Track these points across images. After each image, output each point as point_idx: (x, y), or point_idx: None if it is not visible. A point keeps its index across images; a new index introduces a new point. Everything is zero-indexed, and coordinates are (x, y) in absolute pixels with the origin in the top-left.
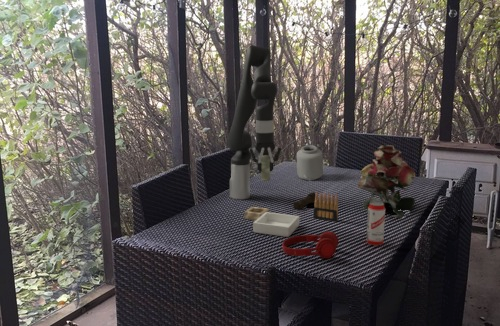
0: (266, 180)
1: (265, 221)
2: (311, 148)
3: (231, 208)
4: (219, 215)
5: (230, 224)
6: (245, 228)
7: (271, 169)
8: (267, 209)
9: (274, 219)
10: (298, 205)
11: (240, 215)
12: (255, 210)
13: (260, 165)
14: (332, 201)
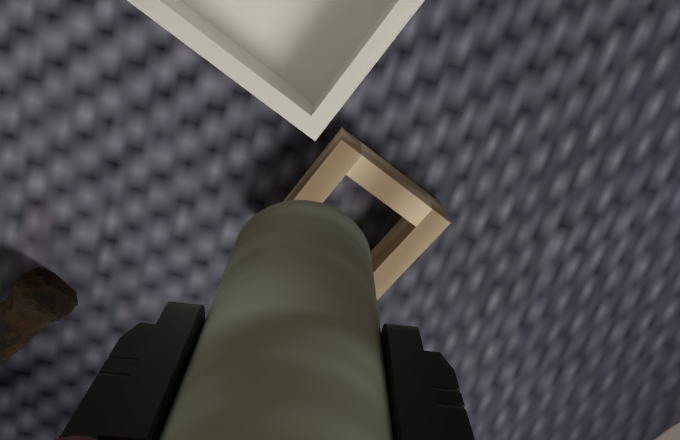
0: (306, 201)
1: (337, 74)
2: None
3: None
4: (564, 298)
5: (572, 120)
6: (509, 7)
7: (168, 318)
8: None
9: (267, 71)
10: (36, 285)
11: (443, 266)
12: None
13: (417, 420)
14: None
